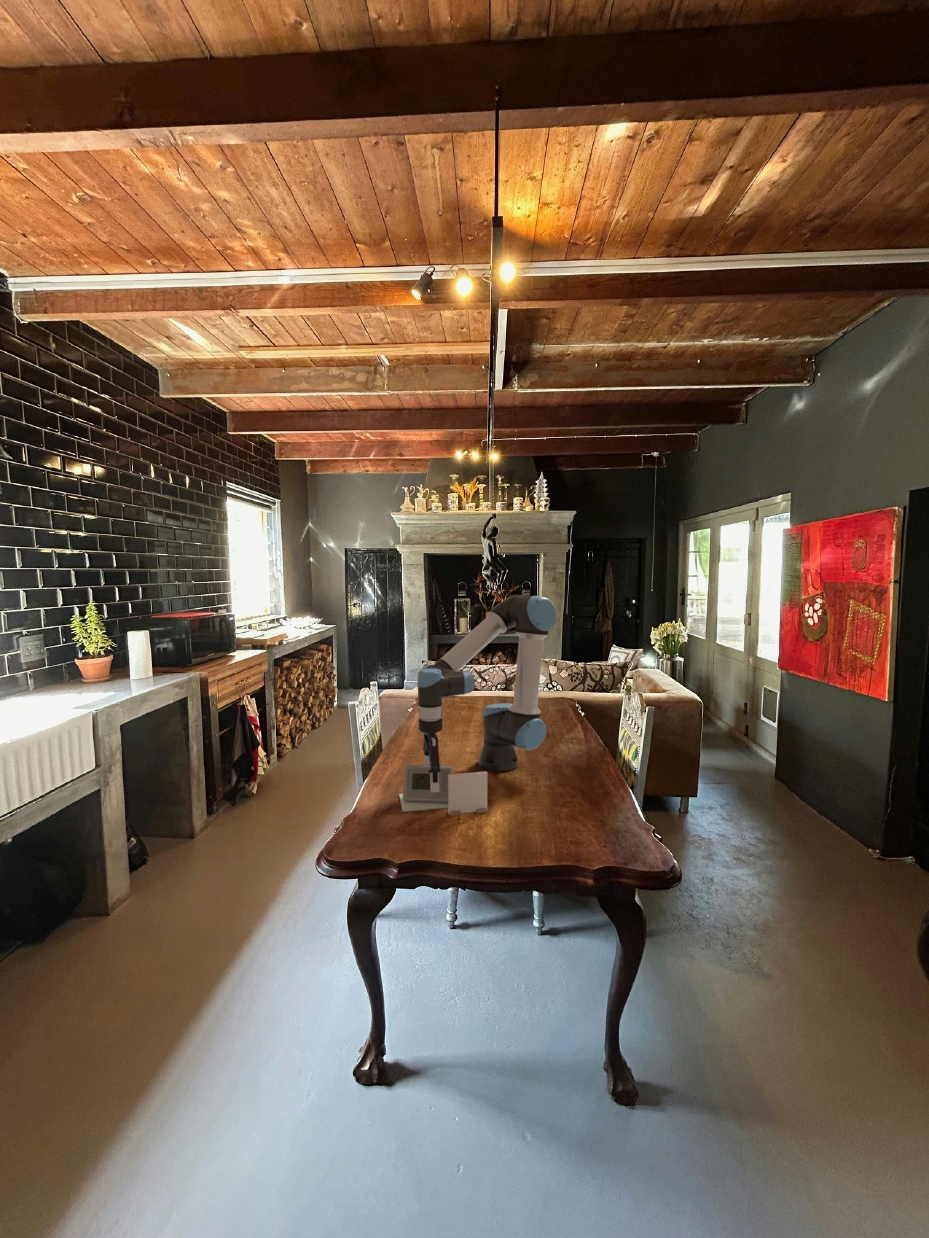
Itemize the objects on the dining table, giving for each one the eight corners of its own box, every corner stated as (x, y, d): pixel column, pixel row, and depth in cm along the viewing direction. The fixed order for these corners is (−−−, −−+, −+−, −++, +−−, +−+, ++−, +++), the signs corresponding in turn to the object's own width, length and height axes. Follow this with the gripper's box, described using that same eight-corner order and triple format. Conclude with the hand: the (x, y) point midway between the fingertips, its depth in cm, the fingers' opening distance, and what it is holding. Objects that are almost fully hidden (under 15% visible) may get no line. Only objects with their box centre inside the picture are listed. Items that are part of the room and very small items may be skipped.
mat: (456, 790, 179) (456, 789, 179) (463, 806, 167) (463, 804, 167) (399, 795, 175) (399, 793, 175) (402, 811, 163) (402, 809, 163)
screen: (485, 807, 166) (485, 770, 165) (488, 812, 163) (488, 774, 162) (447, 810, 164) (447, 772, 163) (449, 816, 160) (449, 777, 159)
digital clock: (400, 802, 169) (399, 769, 168) (410, 790, 177) (410, 759, 176) (449, 808, 164) (449, 774, 163) (457, 796, 173) (457, 764, 172)
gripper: (414, 708, 180) (415, 769, 182) (423, 730, 156) (425, 800, 158) (436, 707, 182) (437, 767, 184) (449, 728, 157) (450, 798, 159)
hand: (431, 783), depth 171 cm, fingers open, 13 cm apart
